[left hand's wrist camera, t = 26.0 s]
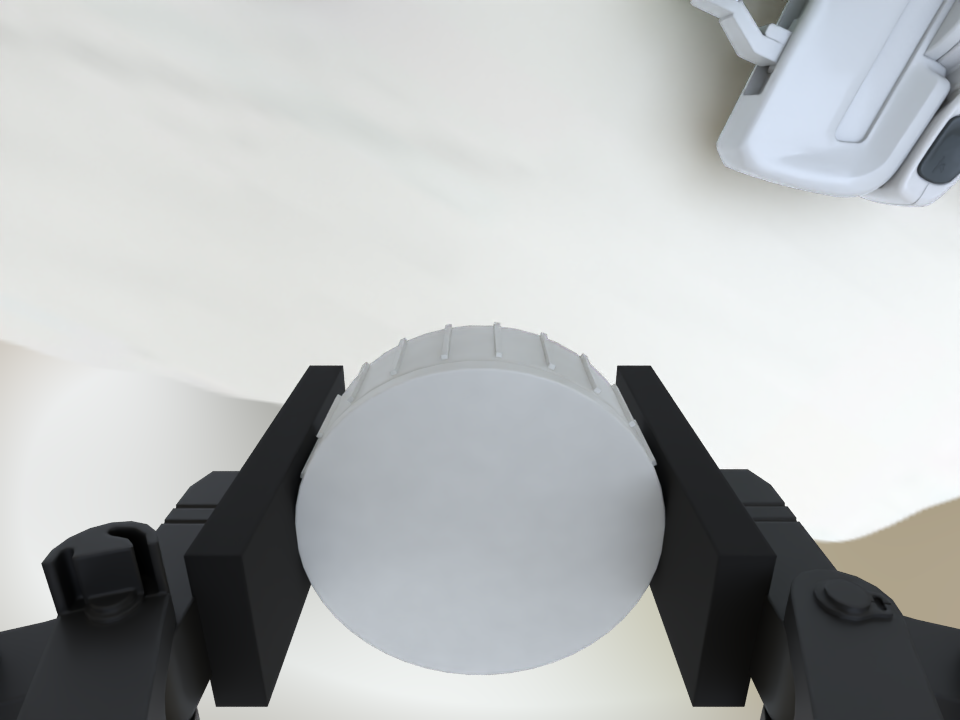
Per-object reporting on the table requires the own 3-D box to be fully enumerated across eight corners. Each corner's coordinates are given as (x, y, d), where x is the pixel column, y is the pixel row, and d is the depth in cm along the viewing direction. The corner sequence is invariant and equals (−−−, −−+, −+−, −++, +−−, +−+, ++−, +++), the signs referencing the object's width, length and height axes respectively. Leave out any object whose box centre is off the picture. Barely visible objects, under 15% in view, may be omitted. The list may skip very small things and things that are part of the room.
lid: (255, 404, 12) (212, 462, 10) (564, 260, 11) (583, 293, 9) (414, 635, 14) (403, 719, 12) (685, 532, 13) (720, 606, 11)
